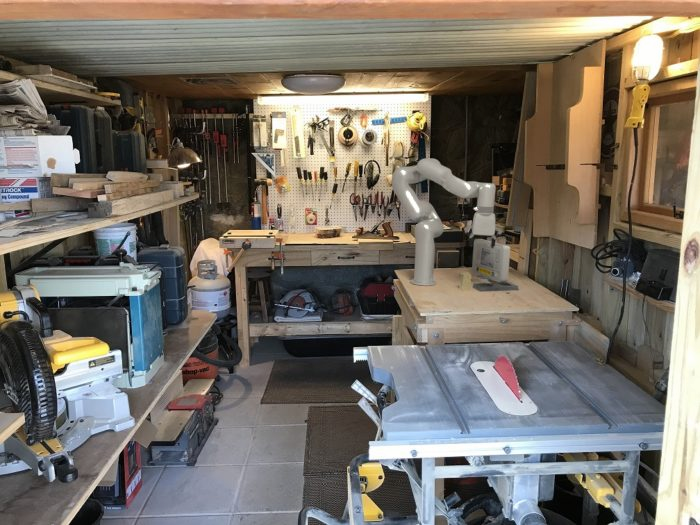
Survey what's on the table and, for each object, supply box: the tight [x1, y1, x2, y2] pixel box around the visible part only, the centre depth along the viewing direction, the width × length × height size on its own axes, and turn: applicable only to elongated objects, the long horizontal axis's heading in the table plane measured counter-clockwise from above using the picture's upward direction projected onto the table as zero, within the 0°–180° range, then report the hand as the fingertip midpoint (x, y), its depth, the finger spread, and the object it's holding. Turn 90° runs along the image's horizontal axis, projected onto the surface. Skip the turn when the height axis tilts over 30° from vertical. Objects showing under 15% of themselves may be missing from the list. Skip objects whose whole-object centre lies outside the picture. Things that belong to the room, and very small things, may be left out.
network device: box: [471, 238, 511, 283], centre depth 281 cm, size 26×9×20 cm, turn 22°
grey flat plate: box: [472, 281, 519, 292], centre depth 266 cm, size 8×20×2 cm, turn 103°
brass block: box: [458, 272, 472, 292], centre depth 262 cm, size 4×4×8 cm
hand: (481, 247), depth 254 cm, fingers open, 9 cm apart
